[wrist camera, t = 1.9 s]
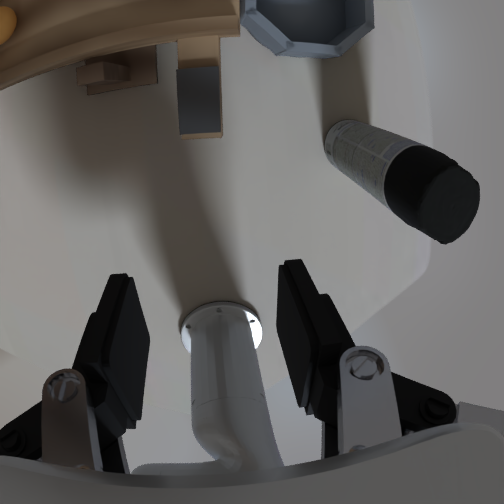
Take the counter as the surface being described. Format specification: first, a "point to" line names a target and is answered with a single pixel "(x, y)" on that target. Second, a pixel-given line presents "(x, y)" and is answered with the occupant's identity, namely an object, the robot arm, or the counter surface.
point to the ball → (7, 23)
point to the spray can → (406, 178)
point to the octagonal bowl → (307, 25)
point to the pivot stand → (119, 70)
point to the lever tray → (128, 44)
